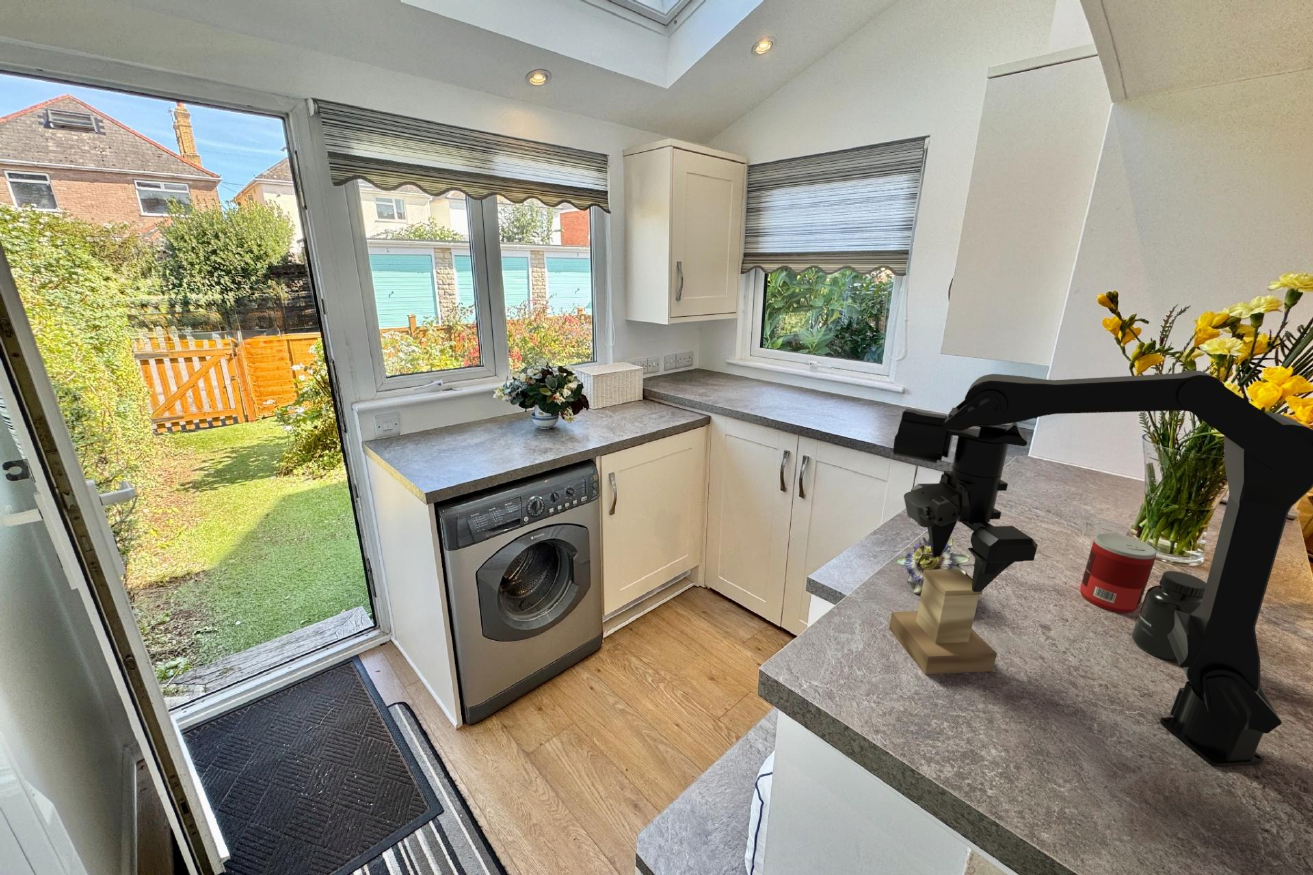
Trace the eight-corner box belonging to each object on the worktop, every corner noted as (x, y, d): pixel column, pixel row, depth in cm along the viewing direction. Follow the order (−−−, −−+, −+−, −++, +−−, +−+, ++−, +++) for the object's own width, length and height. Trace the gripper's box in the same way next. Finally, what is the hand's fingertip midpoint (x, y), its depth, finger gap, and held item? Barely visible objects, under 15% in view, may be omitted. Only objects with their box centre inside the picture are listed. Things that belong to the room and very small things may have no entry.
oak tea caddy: (970, 642, 75) (982, 589, 73) (934, 644, 75) (945, 590, 72) (947, 619, 80) (958, 568, 78) (914, 620, 80) (923, 569, 77)
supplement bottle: (1120, 638, 81) (1142, 570, 78) (1147, 629, 84) (1170, 562, 80) (1174, 668, 75) (1201, 596, 72) (1202, 657, 77) (1230, 587, 74)
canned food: (1149, 617, 87) (1169, 558, 83) (1094, 610, 88) (1112, 552, 85) (1120, 591, 94) (1137, 535, 91) (1069, 585, 95) (1085, 530, 92)
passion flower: (914, 619, 94) (881, 557, 96) (949, 591, 99) (917, 533, 101) (969, 618, 84) (932, 549, 86) (1005, 588, 89) (969, 523, 91)
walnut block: (992, 671, 74) (997, 653, 73) (925, 674, 73) (928, 656, 72) (949, 625, 84) (952, 609, 83) (889, 628, 83) (891, 612, 82)
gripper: (884, 448, 78) (869, 542, 83) (963, 499, 60) (939, 615, 65) (955, 447, 79) (937, 540, 84) (1054, 498, 61) (1024, 612, 66)
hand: (955, 572), depth 75 cm, fingers open, 9 cm apart
